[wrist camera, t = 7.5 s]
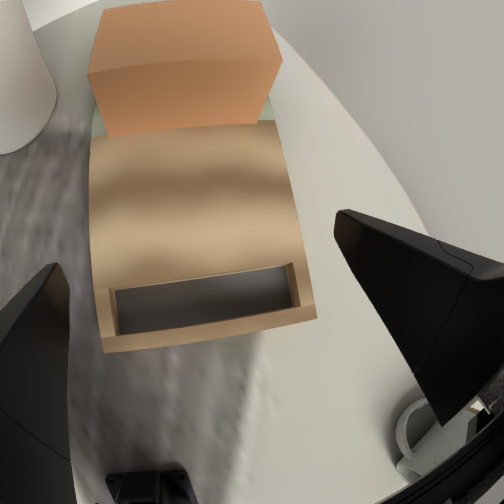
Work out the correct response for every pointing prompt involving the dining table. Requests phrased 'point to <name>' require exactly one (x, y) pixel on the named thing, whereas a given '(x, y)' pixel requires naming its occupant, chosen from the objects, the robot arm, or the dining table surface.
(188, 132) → the box
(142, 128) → the block
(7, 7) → the alcohol
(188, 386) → the dining table surface
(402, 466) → the ceramic mug
